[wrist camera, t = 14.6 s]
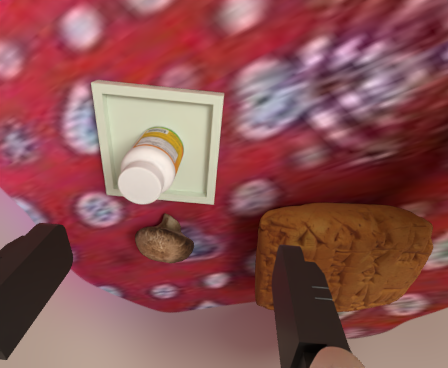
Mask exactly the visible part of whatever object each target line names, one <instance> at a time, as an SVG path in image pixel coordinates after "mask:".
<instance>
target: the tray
mask: <svg viewBox="0 0 448 368" xmlns="http://www.w3.org/2000/svg"><path fill="white" fill-rule="evenodd" d="M91 87H92V94H93V101H94V108H95V115H96V122H97V129H98V136H99V143H100V150H101V157H102V165H103V172H104V179H105V186H106V193H107V195H114V196H123V195H122V193H121V192H120V190H119V187H118V178H119V176H120V174H121V163H122V160H123V158H124V157H125V155H126V154H127V152H128V151H129V150H130V149H131V148H132V146H133V145H134V144H135V143H136V141H137V140H138V139H139V138H140V136H141V135H142V134H143V133H144V132H145V131H146V130H147V129H149V128H151V127H154V126H165V127H168V128H170V129H172V130H174V131H175V132H176V133H177V134H178V135H179V136H180V137H181V139H182V141H183V144H184V154H183V157H182V160H181V163H180V166H179V168H178V171H177V174H176V176H175V179H174V181H173V183H172V185H171V186H170V188H169V189H168V190H166V191H165V192H163V193H161V194H160V196H159V197H158V198H157V199H158V200H169V201H180V202H191V203H201V204H212V205H214V196H215V185H216V175H217V164H218V153H219V142H220V131H221V120H222V109H223V98H224V93H219V92H209V91H200V90H190V89H180V88H170V87H161V86H151V85H141V84H131V83H122V82H112V81H102V80H96V81H94V82H91Z"/></svg>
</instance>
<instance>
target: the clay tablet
mask: <svg viewBox="0 0 448 368" xmlns="http://www.w3.org/2000/svg"><path fill="white" fill-rule="evenodd" d="M432 229H433V226H432V224H431V223H430V222H428V221H427V220H425V219H424V218H422V217H419V216H417V215H415V214H414V213H412V212H409V211H407V210H404V209H401V208H397V207H393V206H388V205H376V204H372V205H368V204H348V203H311V204H305V205H301V206H289V207H282V208H278V209H273V210H269V211H267V212H266V213H265V214H264V215H263V216H262V217H261V219H260V223H259V229H258V243H257V250H256V265H255V297H256V303H257V305H259V306H263V307H265V308H267V309H270V310H274V304H273V295H272V274H273V269H274V264H275V260H276V255H277V251H278V247H279V245H280V244H281V245H293V246H300V247H301V249H302V252H303V256H304V259H305V261H308V262H315V263H316V264H317V265H318V267H319V268H320V269H321V270H322V272H323V273H324V274H325V277H326V280H327V283H328V286H329V290H330V292H331V295H332V298H333V299H332V300H333V301H334V304H335V307H336V310H337V312H343V311H345V312H349V311H355V310H361V309H366V308H372V307H376V306H379V305H385V304H390V303H392V302H394V301H397V300H398V299H399V298H400V297H402V296H403V295H404V294H405V292H406V291H407V290H408V288H409V287H410V285H411V284H412V283H413V282H414V281H415V279H416V278H417V277H418V275H419V274H420V272H421V269H422V268H423V267H424V265H425V263H426V262H427V260H428V257H429V256H430V255H431V252H432V250H433V244H432V240H431V234H432Z"/></svg>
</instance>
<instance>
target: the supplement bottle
mask: <svg viewBox="0 0 448 368" xmlns="http://www.w3.org/2000/svg"><path fill="white" fill-rule="evenodd" d="M183 154H184V144H183V141H182V139H181V137H180V136H179V135H178V134H177V133H176V132H175V131H174V130H172V129H170V128H168V127H165V126H154V127H151V128H149V129H147V130H146V131H145V132H144V133H143V134H142V135H141V136H140V138H139V139H138V140H137V141H136V143H135V144H134V145H133V146H132V148H131V149H130V150H129V151H128V152H127V154H126V155H125V157H124V158H123V160H122V163H121V174H120V176H119V178H118V187H119V190H120V192H121V193H122V195H123V196H124V197H125V198H126V199H128V200H129V201H131V202H133V203H137V204H149V203H152V202H154V201H155V200H156V199H157V198H158V197H159V196H160V194H161V193H163V192H165V191H166V190H168V189H169V188H170V186H171V185H172V183H173V181H174V179H175V176H176V174H177V171H178V168H179V166H180V163H181V160H182V157H183Z"/></svg>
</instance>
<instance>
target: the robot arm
mask: <svg viewBox="0 0 448 368" xmlns="http://www.w3.org/2000/svg"><path fill="white" fill-rule="evenodd" d="M72 262H73V254H72V250H71V247H70V243H69V240H68V236H67V233H66V229H65V227H64V226H63V225H59V224H48V223H39V224H37V225H36V226H35V227H33V228H32V229H31V230H30V231H29V233H27V234H26V235H25V236H21V237H19V238H17V239H16V240H14V241H12V242H10V243H8V244H7V245H6V246H4V247H3V248H2V249H1V250H0V359H2V360H7V359H8V357H9V356H10V355H11V353H12V352H13V350H14V349H15V348H16V346H17V345H18V343H19V342H20V340H21V339H22V338H23V336H24V335H25V333H26V332H27V330H28V329H29V328H30V326H31V325H32V323H33V322H34V321H35V319H36V318H37V316H38V315H39V313H40V312H41V311H42V309H43V308H44V306H45V305H46V303H47V302H48V301H49V299H50V298H51V296H52V295H53V294H54V292H55V291H56V289H57V288H58V286H59V285H60V284H61V282H62V281H63V279H64V278H65V277H66V275H67V274H68V272H69V270H70V269H71V266H72ZM272 295H273V304H274V312H275V321H276V330H277V338H278V347H279V355H280V364H281V368H365V366H364V365H363V364H362V362H360V360H358V358H357V357H356V356H354V355H353V354H352V352H351V350H350V348H349V345H348V343H347V340H346V337H345V334H344V331H343V328H342V325H341V322H340V319H339V316H338V313H337V310H336V307H335V304H334V301H333V300H332V299H333V298H332V295H331V292H330V290H329V286H328V283H327V280H326V277H325V274H324V273H323V272H322V270H321V269H320V268H319V267H318V265H317V264H316V263H315V262H308V261H305V259H304V256H303V252H302V249H301V247H300V246H293V245H281V244H280V245H279V247H278V251H277V255H276V260H275V264H274V269H273V274H272Z"/></svg>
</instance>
